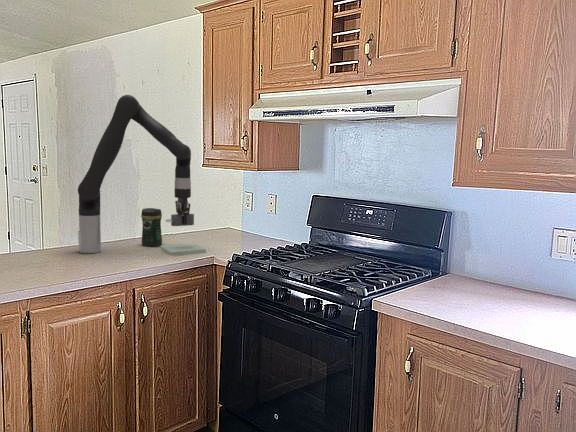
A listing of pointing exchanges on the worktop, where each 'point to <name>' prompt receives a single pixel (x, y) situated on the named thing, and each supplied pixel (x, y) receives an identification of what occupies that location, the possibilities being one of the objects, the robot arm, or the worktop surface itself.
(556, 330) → the worktop surface
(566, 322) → the worktop surface
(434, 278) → the worktop surface
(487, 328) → the worktop surface
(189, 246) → the cutting board
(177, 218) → the connector
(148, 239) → the coffee jar
